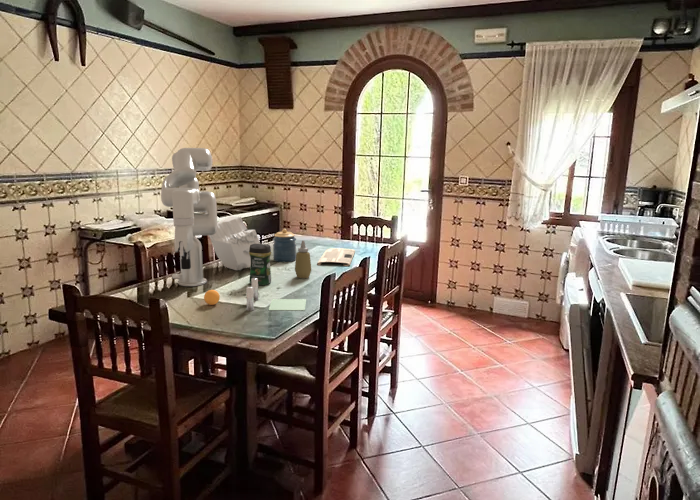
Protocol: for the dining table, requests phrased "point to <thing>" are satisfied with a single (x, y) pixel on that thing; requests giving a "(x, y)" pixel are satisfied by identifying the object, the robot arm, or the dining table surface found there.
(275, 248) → the canister
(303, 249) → the squeeze bottle
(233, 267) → the white lumpy block
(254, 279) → the post
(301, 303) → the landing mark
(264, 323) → the dining table surface
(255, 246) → the coffee jar
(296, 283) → the dining table surface
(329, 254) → the newspaper
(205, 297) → the ball
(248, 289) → the post
